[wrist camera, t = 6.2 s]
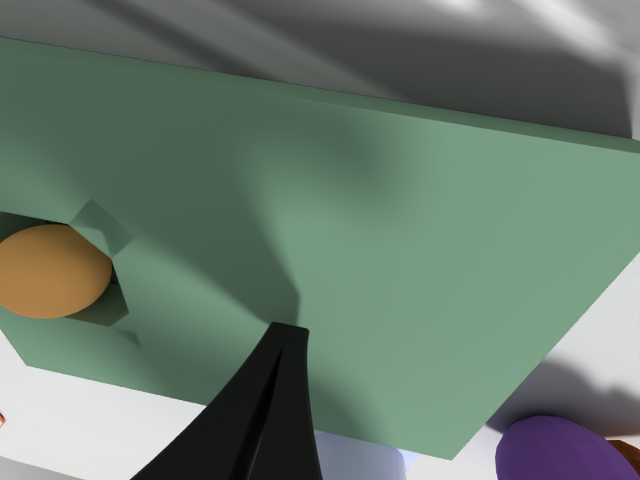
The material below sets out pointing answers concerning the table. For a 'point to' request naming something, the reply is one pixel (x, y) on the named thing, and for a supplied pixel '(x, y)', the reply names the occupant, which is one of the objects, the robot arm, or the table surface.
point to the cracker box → (1, 421)
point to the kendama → (562, 453)
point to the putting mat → (309, 236)
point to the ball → (51, 272)
